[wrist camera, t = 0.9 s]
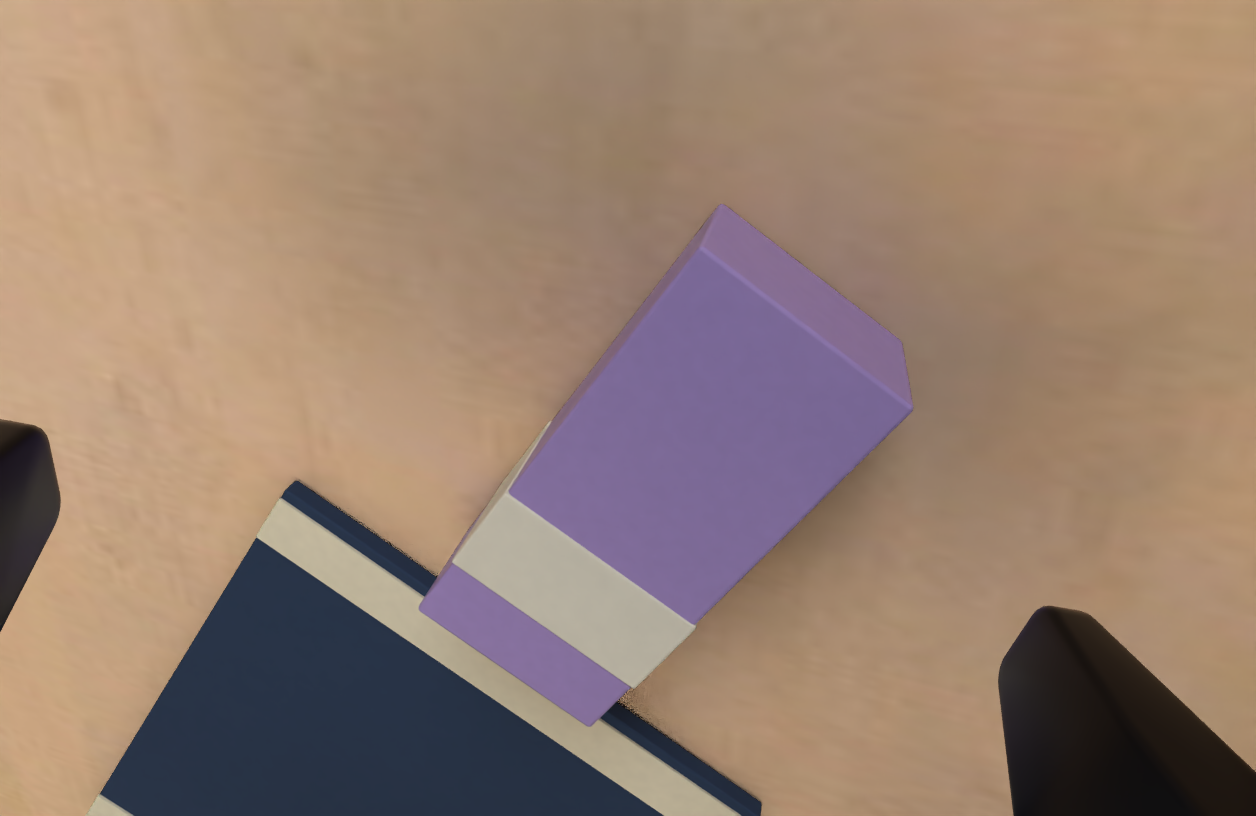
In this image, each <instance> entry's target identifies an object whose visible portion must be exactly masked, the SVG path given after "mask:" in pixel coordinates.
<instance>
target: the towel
mask: <svg viewBox="0 0 1256 816" xmlns="http://www.w3.org/2000/svg"><path fill="white" fill-rule="evenodd" d="M256 537H257V538H256V539H255V541H254V542H253V544H252V546H251V547H250V549H249V551H248V552H247V554H246V556H245V557H244V559H243V560H242V562H241V564H240V565H239V567H238V569H237V570H236V572H235V574H234V575H233V577H232V578H231V580H230V582H229V583H228V585H227V587H226V588H225V590H224V592H223V593H222V595H221V596H220V598H219V600H218V601H217V603H216V605H215V606H214V608H213V610H212V611H211V613H210V615H209V616H208V618H207V619H206V621H205V623H204V624H203V626H202V628H201V629H200V631H199V633H198V634H197V636H196V637H195V639H194V641H193V642H192V644H191V646H190V647H189V649H188V651H187V652H186V654H185V655H184V657H183V659H182V660H181V662H180V664H179V665H178V667H177V669H176V670H175V672H174V673H173V675H172V677H171V678H170V680H169V682H168V683H167V685H166V687H165V688H164V690H163V691H162V693H161V695H160V696H159V698H158V700H157V701H156V703H155V705H154V706H153V708H152V709H151V711H150V713H149V714H148V716H147V718H146V719H145V721H144V723H143V724H142V726H141V727H140V729H139V731H138V732H137V734H136V736H135V737H134V739H133V741H132V742H131V744H130V745H129V747H128V749H127V750H126V752H125V754H124V755H123V757H122V759H121V760H120V762H119V763H118V765H117V767H116V768H115V770H114V772H113V773H112V775H111V777H110V778H109V780H108V782H107V783H106V785H105V786H104V788H103V790H102V791H101V793H100V794H99V795H98V796H97V798H96V799H95V801H94V803H93V804H92V806H91V808H90V809H89V811H88V813H87V814H86V816H761V806H762V804H761V802H760V801H758V800H757V799H755V798H754V797H752V796H751V795H750V794H748V793H747V792H745V791H744V790H742V789H741V788H739V787H738V786H737V785H735V784H734V783H732V782H731V781H729V780H728V779H726V778H725V777H724V776H722V775H721V774H719V773H718V772H716V771H715V770H714V769H712V768H711V767H709V766H708V765H706V764H705V763H703V762H702V761H701V760H699V759H698V758H696V757H695V756H693V755H692V754H690V753H689V752H688V751H686V750H685V749H683V748H682V747H680V746H679V745H677V744H676V743H675V742H673V741H672V740H670V739H669V738H667V737H666V736H665V735H663V734H662V733H660V732H659V731H657V730H656V729H654V728H653V727H652V726H650V725H649V724H647V723H646V722H644V721H643V720H641V719H640V718H639V717H637V716H636V715H634V714H633V713H631V712H630V711H628V710H627V709H626V708H624V707H623V706H621V705H620V704H618V703H617V702H616V703H615V704H614V705H613V706H612V707H611V708H610V709H609V710H608V711H607V712H606V713H605V714H603V715H602V716H601V717H600V718H599V719H598V720H597V721H596V722H595V723H594V724H593V725H592V726H591V727H587V726H586V725H584V724H583V723H581V722H580V721H578V720H577V719H576V718H574V717H573V716H571V715H570V714H568V713H567V712H565V711H564V710H562V709H561V708H560V707H558V706H557V705H555V704H554V703H552V702H551V701H549V700H548V699H547V698H545V697H544V696H542V695H541V694H539V693H538V692H536V691H535V690H533V689H532V688H531V687H529V686H528V685H526V684H525V683H523V682H522V681H520V680H519V679H517V678H516V677H515V676H513V675H512V674H510V673H509V672H507V671H506V670H504V669H503V668H501V667H500V666H499V665H497V664H496V663H494V662H493V661H491V660H490V659H488V658H487V657H485V656H484V655H483V654H481V653H480V652H478V651H477V650H475V649H474V648H472V647H471V646H469V645H468V644H467V643H465V642H464V641H462V640H461V639H459V638H458V637H456V636H455V635H453V634H452V633H451V632H449V631H448V630H446V629H445V628H443V627H442V626H440V625H439V624H437V623H436V622H435V621H433V620H432V619H430V618H429V617H427V616H426V615H424V614H423V613H422V612H420V611H419V610H418V609H419V605H420V603H421V602H422V600H423V599H424V597H425V595H426V594H427V592H428V591H429V589H430V588H431V586H432V585H433V583H434V582H435V580H436V579H437V577H435V576H434V575H433V574H431V573H430V572H428V571H427V570H425V569H424V568H422V567H421V566H420V565H418V564H417V563H415V562H414V561H412V560H411V559H409V558H408V557H407V556H405V555H404V554H402V553H401V552H399V551H398V550H396V549H395V548H394V547H392V546H391V545H389V544H388V543H386V542H385V541H384V540H382V539H381V538H379V537H378V536H376V535H375V534H373V533H372V532H371V531H369V530H368V529H366V528H365V527H363V526H362V525H360V524H359V523H358V522H356V521H355V520H353V519H352V518H350V517H349V516H347V515H346V514H345V513H343V512H342V511H340V510H339V509H337V508H336V507H335V506H333V505H332V504H330V503H329V502H327V501H326V500H324V499H323V498H322V497H320V496H319V495H317V494H316V493H314V492H313V491H311V490H310V489H309V488H307V487H306V486H304V485H303V484H301V483H300V482H299V481H295V482H293V483H292V484H291V485H290V486H289V487H288V488H287V489H286V490H285V492H284V493H283V495H282V497H281V498H279V499H278V501H277V503H276V504H275V506H274V508H273V509H272V511H271V512H270V514H269V516H268V517H267V519H266V521H265V522H264V524H263V526H262V527H261V529H260V531H259V532H258V534H257V535H256Z"/></svg>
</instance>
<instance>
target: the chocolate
mask: <svg viewBox="0 0 1256 816" xmlns="http://www.w3.org/2000/svg"><path fill="white" fill-rule="evenodd" d="M913 408H914V407H913V401H912V396H911V390H910V384H909V378H908V373H907V367H906V361H905V356H904V350H903V344H902V342H901V341H900V340H899V339H898V338H897V337H895V336H894V335H893V334H891V333H890V332H889V331H888V330H886V329H885V328H884V327H882V326H881V325H880V324H878V323H877V322H876V321H875V320H873V319H872V318H871V317H869V316H868V315H867V314H866V313H864V312H863V311H862V310H860V309H859V308H858V307H856V306H855V305H854V304H853V303H851V302H850V301H849V300H847V299H846V298H845V297H843V296H842V295H841V294H840V293H838V292H837V291H836V290H834V289H833V288H832V287H831V286H829V285H828V284H827V283H825V282H824V281H823V280H821V279H820V278H819V277H818V276H816V275H815V274H814V273H812V272H811V271H810V270H809V269H807V268H806V267H805V266H803V265H802V264H801V263H799V262H798V261H797V260H796V259H794V258H793V257H792V256H790V255H789V254H788V253H786V252H785V251H784V250H783V249H781V248H780V247H779V246H777V245H776V244H775V243H774V242H772V241H771V240H770V239H768V238H767V237H766V236H764V235H763V234H762V233H761V232H759V231H758V230H757V229H755V228H754V227H753V226H752V225H750V224H749V223H748V222H746V221H745V220H744V219H742V218H741V217H740V216H739V215H737V214H736V213H735V212H733V211H732V210H731V209H730V208H728V207H727V206H726V205H724V204H720V205H718V206H717V208H716V209H715V210H714V212H713V213H712V214H711V215H710V217H709V218H708V219H707V221H706V222H705V223H704V225H703V226H702V227H701V228H700V230H699V231H698V232H697V234H696V235H695V236H694V238H693V239H692V240H691V241H690V243H689V244H688V245H687V247H686V248H685V249H684V251H683V252H682V253H681V254H680V256H679V257H678V258H677V260H676V261H675V262H674V263H673V265H672V266H671V267H670V269H669V270H668V271H667V273H666V274H665V275H664V276H663V278H662V279H661V280H660V282H659V283H658V284H657V286H656V287H655V288H654V289H653V291H652V292H651V293H650V295H649V296H648V297H647V298H646V300H645V301H644V302H643V304H642V305H641V306H640V308H639V309H638V310H637V311H636V313H635V314H634V315H633V317H632V318H631V319H630V321H629V322H628V323H627V324H626V326H625V327H624V328H623V330H622V331H621V332H620V333H619V335H618V336H617V337H616V339H615V340H614V341H613V343H612V344H611V345H610V346H609V348H608V349H607V350H606V352H605V353H604V354H603V356H602V357H601V358H600V359H599V361H598V362H597V363H596V365H595V366H594V367H593V369H592V370H591V371H590V372H589V374H588V375H587V376H586V378H585V379H584V380H583V381H582V383H581V384H580V385H579V387H578V388H577V389H576V391H575V392H574V393H573V394H572V396H571V397H570V398H569V400H568V401H567V402H566V404H565V405H564V406H563V407H562V409H561V410H560V411H559V413H558V414H557V415H556V416H555V418H554V419H553V420H552V421H549V422H548V423H547V425H546V426H545V427H544V428H543V430H542V431H541V432H540V434H539V435H538V436H537V438H536V439H535V440H534V441H533V443H532V444H531V445H530V447H529V448H528V449H527V451H526V452H525V453H524V454H523V456H522V457H521V458H520V460H519V461H518V462H517V464H516V465H515V466H514V467H513V469H512V470H511V471H510V473H509V474H508V475H507V477H506V478H505V479H504V480H503V482H502V483H501V485H500V486H499V488H498V489H497V491H496V492H495V494H494V495H493V497H492V499H491V500H490V502H489V503H488V505H487V506H486V507H485V509H484V510H483V511H482V512H481V514H480V515H479V516H478V518H477V519H476V520H475V522H474V523H473V524H472V525H471V527H470V528H469V529H468V531H467V532H466V534H465V535H464V537H463V539H462V540H461V542H460V543H459V545H458V546H457V548H456V549H455V551H454V552H453V554H452V555H451V557H450V559H449V560H448V562H447V563H446V565H445V566H444V568H443V569H442V571H441V572H440V574H439V575H438V577H437V579H436V580H435V582H434V583H433V585H432V586H431V588H430V589H429V591H428V592H427V594H426V595H425V597H424V599H423V600H422V602H421V603H420V605H419V609H418V610H419V611H420V612H422V613H423V614H424V615H426V616H427V617H429V618H430V619H432V620H433V621H435V622H436V623H437V624H439V625H440V626H442V627H443V628H445V629H446V630H448V631H449V632H451V633H452V634H453V635H455V636H456V637H458V638H459V639H461V640H462V641H464V642H465V643H467V644H468V645H469V646H471V647H472V648H474V649H475V650H477V651H478V652H480V653H481V654H483V655H484V656H485V657H487V658H488V659H490V660H491V661H493V662H494V663H496V664H497V665H499V666H500V667H501V668H503V669H504V670H506V671H507V672H509V673H510V674H512V675H513V676H515V677H516V678H517V679H519V680H520V681H522V682H523V683H525V684H526V685H528V686H529V687H531V688H532V689H533V690H535V691H536V692H538V693H539V694H541V695H542V696H544V697H545V698H547V699H548V700H549V701H551V702H552V703H554V704H555V705H557V706H558V707H560V708H561V709H562V710H564V711H565V712H567V713H568V714H570V715H571V716H573V717H574V718H576V719H577V720H578V721H580V722H581V723H583V724H584V725H586V726H587V727H591V726H592V725H593V724H594V723H595V722H596V721H597V720H598V719H599V718H600V717H601V716H602V715H603V714H605V713H606V712H607V711H608V710H609V709H610V708H611V707H612V706H613V705H614V704H615V703H616V702H617V701H618V700H619V699H620V698H621V697H622V696H623V695H624V694H625V693H626V692H627V691H628V690H629V689H630V688H633V689H635V688H636V687H637V686H638V685H639V684H640V683H641V682H642V681H643V680H644V679H645V678H646V677H647V676H648V675H649V674H650V673H651V672H652V671H653V670H654V669H655V668H656V667H657V666H658V665H659V664H660V663H662V662H663V661H664V660H665V659H666V658H667V657H668V656H669V655H670V654H671V653H672V652H673V651H674V650H675V649H676V648H677V647H678V646H679V645H680V644H681V643H682V642H683V641H684V640H685V639H686V638H687V637H688V636H689V635H690V634H691V633H692V632H693V631H694V630H695V629H696V626H697V622H698V621H699V620H700V619H701V618H702V617H703V616H704V615H705V614H706V613H707V612H708V611H709V610H710V609H711V608H712V607H713V606H714V605H716V604H717V603H718V602H719V601H720V600H721V599H722V598H723V597H724V596H725V595H726V594H727V593H728V592H729V591H730V590H731V589H732V588H733V587H734V586H735V585H736V584H737V583H738V582H739V581H740V580H741V579H742V578H743V577H744V576H745V575H746V574H747V573H748V572H749V571H750V570H751V569H752V568H753V567H754V566H755V565H756V564H757V563H758V562H759V561H760V560H761V559H762V558H763V557H764V556H765V555H766V554H767V553H768V552H769V551H770V550H772V549H773V548H774V547H775V546H776V545H777V544H778V543H779V542H780V541H781V540H782V539H783V538H784V537H785V536H786V535H787V534H788V533H789V532H790V531H791V530H792V529H793V528H794V527H795V526H796V525H797V524H798V523H799V522H800V521H801V520H802V519H803V518H804V517H805V516H806V515H807V514H808V513H809V512H810V511H811V510H812V509H813V508H814V507H815V506H816V505H817V504H818V503H819V502H820V501H821V500H822V499H823V498H824V497H825V496H827V495H828V494H829V493H830V492H831V491H832V490H833V489H834V488H835V487H836V486H837V485H838V484H839V483H840V482H841V481H842V480H843V479H844V478H845V477H846V476H847V475H848V474H849V473H850V472H851V471H852V470H853V469H854V468H855V467H856V466H857V465H858V464H859V463H860V462H861V461H862V460H863V459H864V458H865V457H866V456H867V455H868V454H869V453H870V452H871V451H872V450H873V449H874V448H875V447H876V446H877V445H878V444H879V443H880V442H881V441H883V440H884V439H885V438H886V437H887V436H888V435H889V434H890V433H891V432H892V431H893V430H894V429H895V428H896V427H897V426H898V425H899V424H900V423H901V422H902V421H903V420H904V419H905V418H906V417H907V416H908V415H909V414H910V413H911V412H912V411H913Z"/></svg>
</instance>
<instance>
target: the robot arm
mask: <svg viewBox="0 0 1256 816" xmlns="http://www.w3.org/2000/svg"><path fill="white" fill-rule="evenodd" d="M60 501H61V499H60V491H59V486H58V482H57V477H56V472H55V468H54V463H53V458H52V453H51V449H50V444H49V440H48V437H47V435H46V434H45V432H44V431H43V430H42V429H41V428H39V427H37V426H35V425H30V424H25V423H19V422H13V421H8V420H2V419H0V632H1V630H2V628H3V626H4V624H5V622H6V620H7V618H8V616H9V614H10V612H11V610H12V608H13V606H14V604H15V602H16V600H17V598H18V596H19V594H20V592H21V591H22V589H23V587H24V585H25V583H26V581H27V579H28V577H29V575H30V573H31V571H32V569H33V567H34V565H35V563H36V561H37V559H38V557H39V555H40V553H41V551H42V549H43V548H44V546H45V544H46V542H47V540H48V538H49V536H50V534H51V532H52V530H53V528H54V526H55V524H56V521H57V518H58V515H59V511H60ZM998 685H999V695H1000V704H1001V712H1002V721H1003V729H1004V738H1005V746H1006V755H1007V764H1008V772H1009V781H1010V789H1011V798H1012V806H1013V815H1014V816H1256V772H1255V771H1254V770H1253V769H1252V768H1251V767H1250V766H1249V765H1248V764H1247V763H1246V762H1245V761H1244V760H1242V759H1241V758H1240V757H1239V756H1238V755H1237V754H1236V753H1235V752H1234V751H1233V750H1232V749H1231V748H1230V747H1229V746H1228V745H1227V744H1226V743H1225V742H1224V741H1222V740H1221V739H1220V738H1219V737H1218V736H1217V735H1216V734H1215V733H1214V732H1213V731H1212V730H1211V729H1210V728H1209V727H1208V726H1207V725H1206V724H1205V723H1204V722H1202V721H1201V720H1200V719H1199V718H1198V717H1197V716H1196V715H1195V714H1194V713H1193V712H1192V711H1191V710H1190V709H1189V708H1188V707H1187V706H1186V705H1185V704H1184V703H1183V702H1181V701H1180V700H1179V699H1178V698H1177V697H1176V696H1175V695H1174V694H1173V693H1172V692H1171V691H1170V690H1169V689H1168V688H1167V687H1166V686H1165V685H1164V684H1163V683H1161V682H1160V681H1159V680H1158V679H1157V678H1156V677H1155V676H1154V675H1153V674H1152V673H1151V672H1150V671H1149V670H1148V669H1147V668H1146V667H1145V666H1144V665H1143V664H1141V663H1140V662H1139V661H1138V660H1137V659H1136V658H1135V657H1134V656H1133V655H1132V654H1131V653H1130V652H1129V651H1128V650H1127V649H1126V648H1125V647H1124V646H1123V645H1121V644H1120V643H1119V642H1118V641H1117V640H1116V639H1115V638H1114V637H1113V636H1112V635H1111V634H1110V633H1109V632H1108V631H1107V630H1106V629H1105V628H1104V627H1103V626H1101V625H1100V624H1099V623H1098V622H1097V621H1096V620H1095V619H1094V618H1093V617H1092V616H1090V615H1089V614H1087V613H1084V612H1082V611H1077V610H1072V609H1066V608H1061V607H1055V606H1043V607H1041V608H1040V609H1038V610H1036V611H1035V613H1034V614H1033V615H1032V616H1031V618H1030V619H1029V621H1028V622H1027V624H1026V625H1025V627H1024V628H1023V630H1022V631H1021V633H1020V634H1019V636H1018V637H1017V639H1016V640H1015V642H1014V643H1013V645H1012V646H1011V648H1010V649H1009V651H1008V652H1007V654H1006V655H1005V657H1004V659H1003V661H1002V663H1001V666H1000V670H999V678H998Z"/></svg>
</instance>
